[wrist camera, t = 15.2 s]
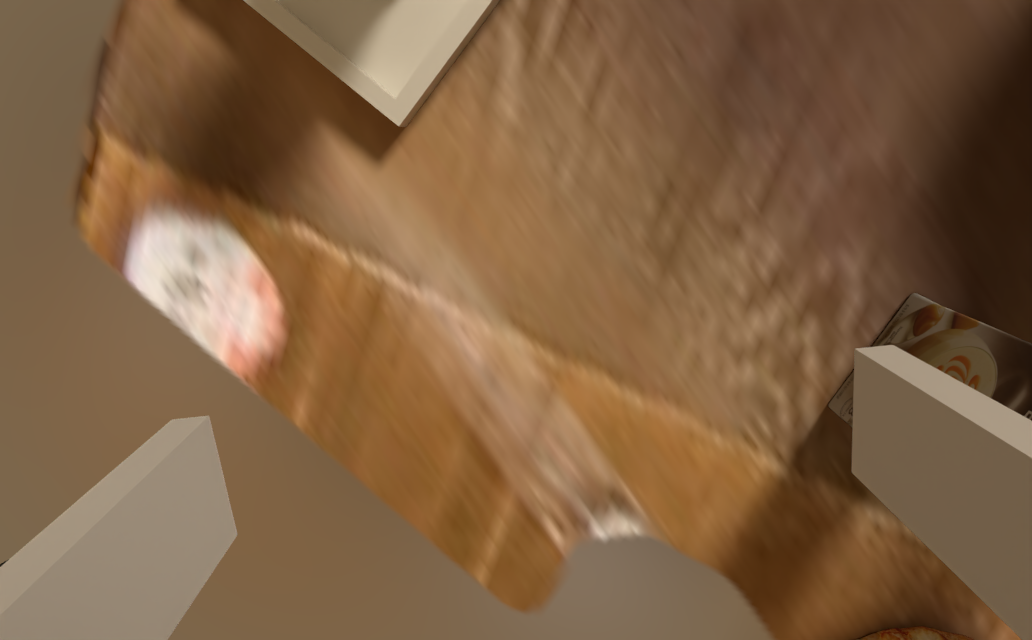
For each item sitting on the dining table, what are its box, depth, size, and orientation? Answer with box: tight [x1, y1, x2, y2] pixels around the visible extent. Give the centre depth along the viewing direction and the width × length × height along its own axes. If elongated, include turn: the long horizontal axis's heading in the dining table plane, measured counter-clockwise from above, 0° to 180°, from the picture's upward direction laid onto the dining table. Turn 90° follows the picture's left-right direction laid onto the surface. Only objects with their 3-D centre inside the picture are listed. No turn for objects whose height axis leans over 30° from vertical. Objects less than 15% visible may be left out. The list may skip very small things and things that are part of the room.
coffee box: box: [828, 293, 1032, 428], centre depth 37 cm, size 9×6×16 cm
